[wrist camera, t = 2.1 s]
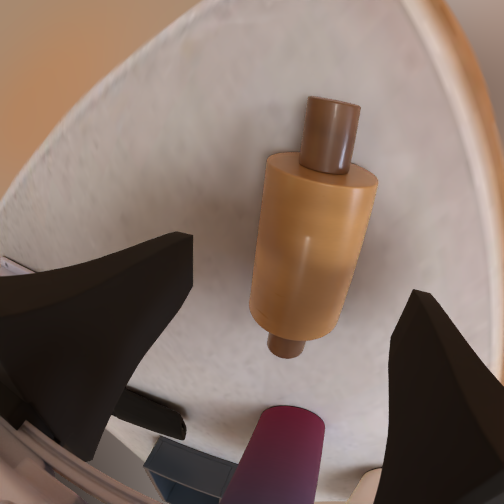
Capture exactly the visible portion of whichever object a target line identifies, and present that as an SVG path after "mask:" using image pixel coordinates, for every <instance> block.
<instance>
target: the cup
mask: <svg viewBox="0 0 504 504" xmlns="http://www.w3.org/2000/svg"><path fill="white" fill-rule="evenodd" d="M324 432H325V425H324V422H323V421H322V420H321V418H319V417H318V416H317V415H316V414H314V413H312V412H310V411H307V410H305V409H301V408H297V407H292V406H277V407H272V408H269V409H267V410H265V411H264V412H263V413H262V414H261V417H260V419H259V421H258V423H257V426H256V428H255V430H254V432H253V434H252V437H251V439H250V441H249V443H248V445H247V447H246V450H245V452H244V454H243V456H242V458H241V460H240V462H239V464H238V466H237V468H236V471H235V473H234V475H233V477H232V479H231V481H230V483H229V485H228V487H227V489H226V491H225V493H224V495H223V497H222V499H221V501H220V503H219V504H314V499H315V493H316V487H317V481H318V475H319V469H320V462H321V455H322V448H323V440H324Z"/></svg>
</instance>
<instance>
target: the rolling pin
mask: <svg viewBox="0 0 504 504" xmlns="http://www.w3.org/2000/svg"><path fill="white" fill-rule="evenodd" d="M360 109H361V107H360V106H359V105H355V104H351V103H347V102H342V101H338V100H332V99H327V98H321V97H314V96H309V97H308V100H307V108H306V115H305V122H304V129H303V136H302V142H301V149H300V153H299V152H286V153H278V154H274V155H271V156H270V157H269V158H268V159H267V163H266V172H265V180H264V188H263V196H262V204H261V213H260V221H259V229H258V237H257V245H256V253H255V261H254V269H253V277H252V285H251V293H250V301H249V308H250V312H251V314H252V316H253V318H254V320H255V321H256V322H257V323H258V324H259V325H260V326H261V327H262V328H263V329H265V330H266V331H268V332H269V336H268V341H267V345H268V348H269V350H270V351H271V352H272V353H273V354H274V355H276V356H278V357H281V358H286V359H289V358H294V357H297V356H298V355H300V354H301V353H302V351H303V349H304V345H305V342H306V341H308V340H314V339H318V338H321V337H323V336H325V335H327V334H328V333H330V332H331V331H332V330H333V329H334V327H335V326H336V324H337V322H338V319H339V316H340V313H341V310H342V307H343V304H344V301H345V298H346V295H347V292H348V289H349V286H350V283H351V280H352V277H353V274H354V270H355V267H356V264H357V261H358V257H359V254H360V251H361V247H362V244H363V240H364V237H365V233H366V230H367V226H368V222H369V219H370V215H371V211H372V207H373V204H374V200H375V196H376V192H377V188H378V179H377V177H376V176H375V175H373V174H372V173H371V172H369V171H368V170H366V169H364V168H362V167H360V166H357V165H355V164H352V163H351V159H352V154H353V149H354V143H355V138H356V133H357V127H358V121H359V115H360Z"/></svg>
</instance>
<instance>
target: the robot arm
mask: <svg viewBox="0 0 504 504" xmlns="http://www.w3.org/2000/svg"><path fill="white" fill-rule="evenodd" d="M0 264H1V267H0V504H88V503H87V502H85V501H84V500H83V499H82V498H81V497H79V496H78V495H77V494H76V493H75V492H73V491H72V490H70V489H69V488H68V487H66V486H65V485H63V484H62V483H61V482H59V481H58V480H56V479H55V473H54V471H56V472H57V473H58V474H60V475H61V476H63V477H64V478H65V479H67V480H68V481H70V482H71V483H73V484H74V485H76V486H77V487H79V488H80V489H82V490H84V491H85V492H86V493H88V494H90V495H91V496H93V497H95V498H96V499H98V500H100V501H101V502H103V503H105V504H163V503H160V502H158V501H156V500H154V499H152V498H149V497H147V496H145V495H143V494H141V493H139V492H137V491H135V490H133V489H131V488H129V487H127V486H125V485H123V484H122V483H120V482H118V481H116V480H114V479H112V478H111V477H109V476H107V475H105V474H104V473H102V472H100V471H98V470H97V469H95V468H94V467H92V466H90V465H89V464H87V463H85V462H87V461H91V460H93V457H94V454H95V451H96V449H97V446H98V444H99V441H100V439H101V436H102V434H103V432H104V429H105V427H106V425H107V423H108V421H109V418H110V416H111V414H112V412H113V410H114V408H115V406H116V404H117V402H118V400H119V398H120V396H121V394H122V392H123V390H124V389H125V387H126V385H127V383H128V381H129V380H130V378H131V376H132V374H133V373H134V371H135V369H136V368H137V366H138V364H139V363H140V361H141V360H142V358H143V357H144V355H145V354H146V353H147V351H148V350H149V349H150V347H151V346H152V345H153V343H154V342H155V341H156V340H157V338H158V337H159V336H160V334H161V333H162V332H163V331H164V329H165V328H166V327H167V325H168V324H169V323H170V321H171V320H172V319H173V317H174V316H175V315H176V314H177V312H178V311H179V309H180V308H181V306H182V305H183V303H184V301H185V299H186V298H187V296H188V294H189V292H190V290H191V288H192V287H193V235H190V234H185V233H181V232H172V233H169V234H165V235H162V236H159V237H157V238H154V239H151V240H148V241H146V242H143V243H140V244H138V245H135V246H132V247H130V248H127V249H124V250H121V251H118V252H115V253H112V254H110V255H107V256H104V257H101V258H98V259H95V260H91V261H88V262H85V263H81V264H77V265H73V266H69V267H65V268H60V269H54V270H49V271H44V272H38V273H35V272H33V271H31V270H29V269H27V268H25V267H23V266H21V265H19V264H17V263H15V262H13V261H11V260H9V259H7V258H5V257H3V256H2V257H0ZM388 374H389V427H388V438H387V444H386V450H385V456H384V462H383V467H382V471H381V476H380V480H379V484H378V488H377V492H376V495H375V499H374V502H373V504H504V386H503V385H502V384H501V383H500V382H499V381H498V380H497V378H496V377H495V376H494V375H493V374H492V373H491V372H490V371H489V369H488V368H487V367H486V366H485V365H484V363H483V362H482V361H481V360H480V358H479V357H478V356H477V354H476V353H475V352H474V350H473V349H472V348H471V347H470V345H469V344H468V343H467V341H466V340H465V339H464V337H463V336H462V334H461V333H460V332H459V330H458V329H457V328H456V326H455V325H454V323H453V322H452V321H451V319H450V318H449V317H448V315H447V314H446V312H445V311H444V310H443V308H442V307H441V306H440V304H439V303H438V302H437V301H436V299H435V298H434V297H433V296H432V295H431V294H430V293H427V292H423V291H419V290H415V289H413V290H412V293H411V295H410V297H409V299H408V302H407V304H406V306H405V308H404V310H403V313H402V315H401V317H400V319H399V321H398V323H397V325H396V327H395V329H394V331H393V333H392V335H391V340H390V350H389V362H388ZM53 470H54V471H53Z"/></svg>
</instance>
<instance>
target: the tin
mask: <svg viewBox="0 0 504 504" xmlns="http://www.w3.org/2000/svg"><path fill="white" fill-rule="evenodd" d="M237 466H238V464H235V463H232V462H228V461H225V460H222V459H219V458H216V457H214V456H211V455H208V454H205V453H202V452H200V451H197V450H194V449H192V448H189V447H187V446H184V445H181V444H179V443H177V442H174V441H172V440H169V439H167V438H165V437H162V436H160V437H159V439H158V441H157V443H156V444H155V446H154V448H153V450H152V451H151V453H150V455H149V456H148V458H147V460H146V462H145V463H144V465H143V467H144V469H145V471H146V473H147V474H148V476H149V478H150V480H151V482H152V483H153V485H154V487H155V489H156V490H157V492H158V494H159V495H160V497H161V499H162V500H163V501H164V502H167V503H169V504H219V503H220V501H221V499H222V497H223V495H224V493H225V491H226V489H227V487H228V485H229V483H230V481H231V479H232V477H233V475H234V473H235V471H236V468H237Z"/></svg>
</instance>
